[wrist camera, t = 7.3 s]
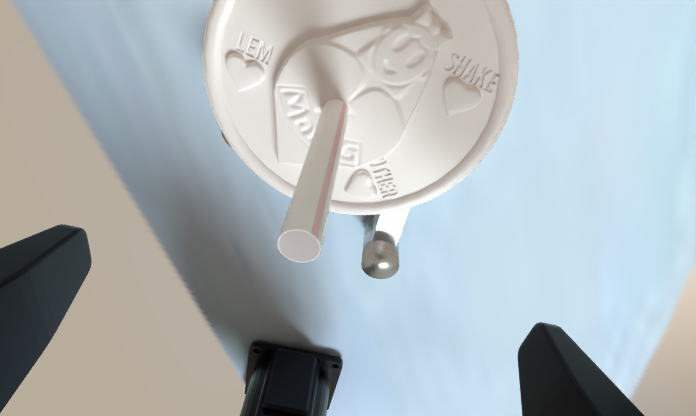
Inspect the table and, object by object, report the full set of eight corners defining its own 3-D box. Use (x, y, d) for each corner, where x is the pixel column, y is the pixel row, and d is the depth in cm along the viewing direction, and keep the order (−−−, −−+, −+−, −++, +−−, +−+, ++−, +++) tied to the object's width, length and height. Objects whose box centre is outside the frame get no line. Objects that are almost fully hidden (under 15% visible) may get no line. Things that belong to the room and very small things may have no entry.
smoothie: (256, -8, 17) (-30, 195, 5) (383, -156, 14) (339, -383, 3) (367, 111, 19) (328, 421, 8) (494, 5, 16) (724, 255, 5)
